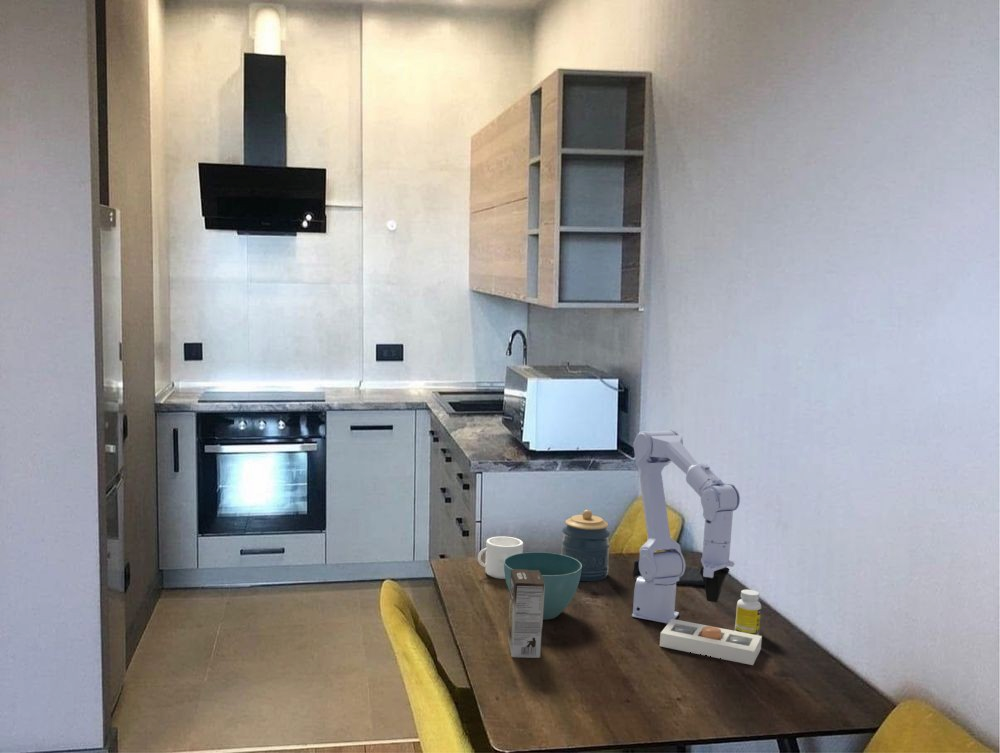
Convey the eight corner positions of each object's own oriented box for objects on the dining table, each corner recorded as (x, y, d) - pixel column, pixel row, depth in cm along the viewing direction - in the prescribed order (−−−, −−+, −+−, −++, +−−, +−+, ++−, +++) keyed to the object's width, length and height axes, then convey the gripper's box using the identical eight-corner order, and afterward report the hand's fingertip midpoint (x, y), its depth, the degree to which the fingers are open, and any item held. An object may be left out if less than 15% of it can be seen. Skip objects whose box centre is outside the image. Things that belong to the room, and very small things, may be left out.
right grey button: (727, 653, 207) (728, 641, 206) (730, 647, 210) (731, 635, 210) (745, 657, 205) (746, 644, 205) (749, 651, 209) (750, 638, 208)
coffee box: (506, 641, 208) (510, 568, 207) (536, 641, 209) (540, 569, 207) (510, 657, 199) (514, 582, 198) (541, 658, 200) (545, 582, 198)
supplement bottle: (759, 639, 216) (763, 597, 215) (735, 636, 217) (738, 594, 216) (758, 630, 222) (761, 589, 221) (734, 628, 223) (737, 587, 222)
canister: (554, 567, 263) (557, 503, 261) (600, 566, 265) (604, 504, 263) (566, 582, 250) (570, 516, 248) (614, 582, 252) (618, 516, 250)
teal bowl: (533, 633, 213) (536, 579, 212) (486, 608, 228) (488, 557, 227) (594, 619, 224) (598, 567, 223) (546, 596, 239) (548, 547, 237)
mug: (482, 582, 247) (483, 548, 246) (472, 570, 256) (474, 536, 255) (526, 580, 250) (528, 546, 249) (515, 568, 260) (517, 535, 259)
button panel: (659, 646, 209) (660, 632, 209) (670, 631, 219) (671, 618, 218) (753, 665, 201) (754, 651, 201) (760, 649, 211) (761, 636, 210)
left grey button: (672, 642, 211) (672, 630, 211) (676, 636, 215) (677, 624, 215) (690, 646, 210) (691, 633, 209) (694, 640, 213) (695, 628, 213)
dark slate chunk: (715, 592, 249) (716, 574, 249) (629, 582, 254) (631, 565, 253) (715, 575, 264) (716, 558, 263) (635, 566, 269) (636, 549, 268)
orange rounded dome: (699, 643, 209) (700, 630, 209) (703, 637, 212) (704, 625, 212) (718, 646, 207) (719, 634, 207) (721, 640, 211) (722, 628, 211)
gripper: (729, 551, 200) (724, 614, 201) (741, 535, 213) (737, 594, 215) (695, 545, 203) (690, 607, 204) (710, 530, 216) (705, 588, 217)
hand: (712, 600), depth 210 cm, fingers closed
